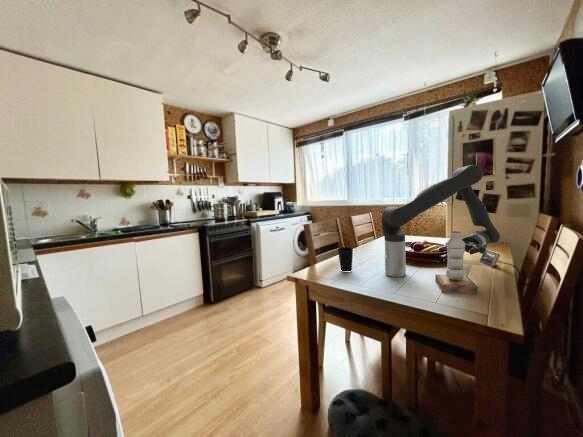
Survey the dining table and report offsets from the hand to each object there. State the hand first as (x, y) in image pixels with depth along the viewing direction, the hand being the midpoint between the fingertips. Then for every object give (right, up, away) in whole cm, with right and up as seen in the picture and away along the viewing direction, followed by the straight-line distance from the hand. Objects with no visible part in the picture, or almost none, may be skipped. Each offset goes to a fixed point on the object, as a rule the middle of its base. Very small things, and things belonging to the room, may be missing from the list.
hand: (458, 250), depth 105 cm
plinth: (-2, -15, 0) cm, 15 cm away
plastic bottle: (-2, -12, 0) cm, 12 cm away
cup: (-41, -15, +29) cm, 52 cm away
